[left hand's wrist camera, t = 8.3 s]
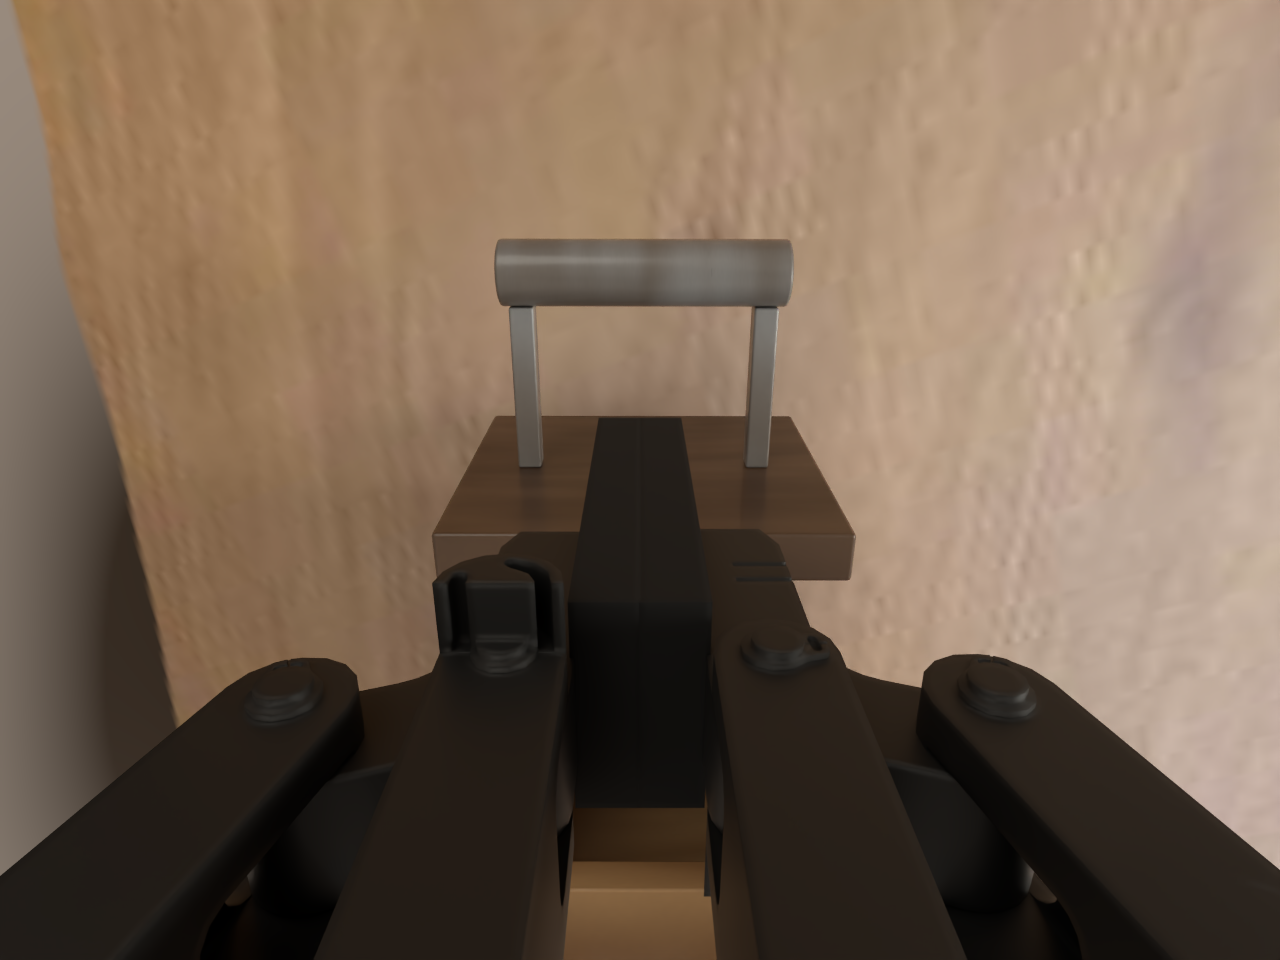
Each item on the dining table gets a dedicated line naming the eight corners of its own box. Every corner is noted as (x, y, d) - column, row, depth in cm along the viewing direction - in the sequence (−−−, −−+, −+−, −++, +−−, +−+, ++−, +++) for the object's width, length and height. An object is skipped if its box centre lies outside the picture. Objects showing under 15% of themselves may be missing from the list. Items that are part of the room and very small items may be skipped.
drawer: (480, 223, 22) (398, 263, 15) (807, 223, 22) (891, 263, 15) (521, 776, 31) (482, 983, 23) (761, 776, 31) (801, 984, 23)
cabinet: (501, 653, 30) (437, 890, 20) (782, 654, 29) (848, 890, 20) (525, 945, 36) (485, 1228, 26) (756, 946, 36) (797, 1229, 26)
